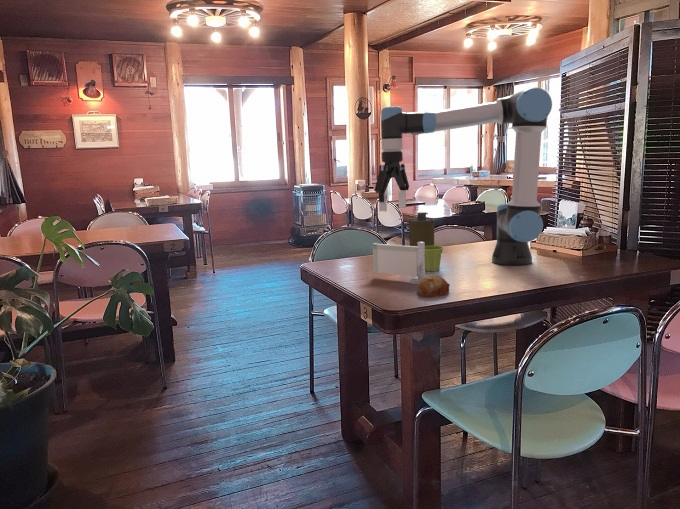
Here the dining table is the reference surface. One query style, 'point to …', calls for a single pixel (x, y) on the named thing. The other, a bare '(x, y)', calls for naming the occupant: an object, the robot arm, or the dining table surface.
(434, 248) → the plant pot
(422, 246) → the gate post
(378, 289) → the dining table surface
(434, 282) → the bread roll
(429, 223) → the canister
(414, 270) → the gate
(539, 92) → the robot arm
